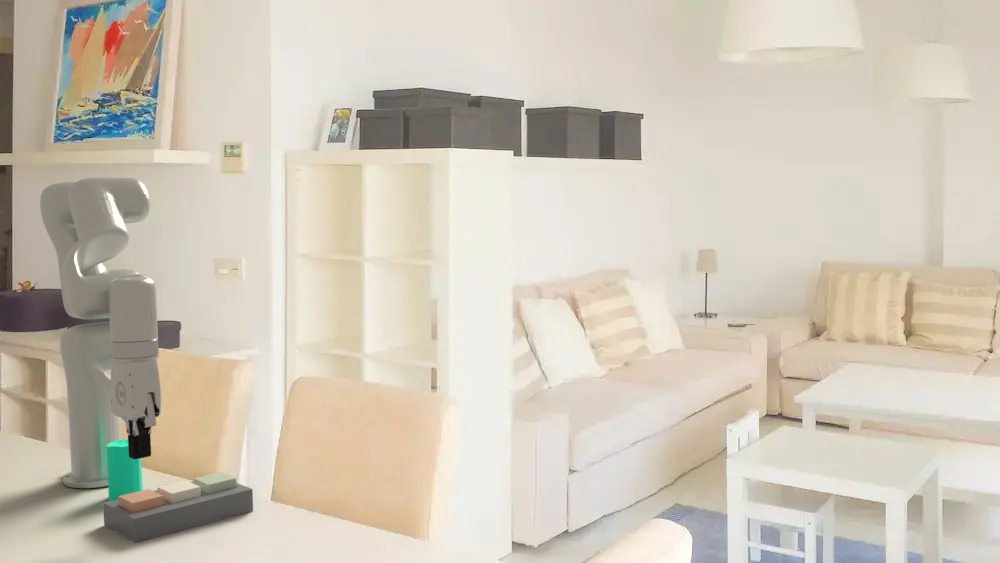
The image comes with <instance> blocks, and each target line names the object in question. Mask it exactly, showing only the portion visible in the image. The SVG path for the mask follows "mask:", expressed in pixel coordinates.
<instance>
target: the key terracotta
mask: <svg viewBox="0 0 1000 563" xmlns="http://www.w3.org/2000/svg"><path fill="white" fill-rule="evenodd" d="M154 491H155V490H152V489H149V488H148V489H144V490H143V489H142V491H139V492H134V493H130V494H126V495H122V496H119V507H121V508H123V509H125V510H127V511H129V512H131V513H135V512H139V511H143V510H147V509H151V508H155V507H159V506H163V505H164V504H163V495H160V494H158V493H156V492H154Z"/></svg>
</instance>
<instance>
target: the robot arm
mask: <svg viewBox="0 0 1000 563" xmlns="http://www.w3.org/2000/svg"><path fill="white" fill-rule="evenodd" d="M39 205H40V206H39V207H40V213H41V218H42V222H43V223H42V224H43V225H44V228H45V231H46V233H47V235H48V236H49V238H50V241H51V242H52V245H53V247H54V250H55V252H56V257H57V264H58V265H57V266H58V273H59V281H60V289H61V291H60V292H61V296H62V297H61V298H62V303H63V307H64V310H65V312H66V313H67V315H68V316H69V317H71V318H76V319H80V320H86V321H87V320H100V319H102V320H103V319H109V321H106V322H105V321H104V322H93V323H91V322H90V323H84V324H83V323H82V324H79V325H78V324H77V325H75V326H74V325H73V326H71V327H69V328H67V329H66V330H65V331H64V332H63V333H62V335H61V336H60V341H59V348H60V355H61V360H62V365H63V368H64V375H65V382H66V383H65V384H66V393H67V408H68V409H67V410H68V425H69V426H68V427H69V428H68V429H69V449H70V452H69V453H70V469H71V471H70V472H68V473H66V474H65V475H64V476H63V478H62V481H63V485H64V486H66V487H69V488H74V489H97V488H103V487H104V488H105V487H108V470H107V448H106V446H107V445H108V444H109V443H111V442H114V441H118V440H122V428H121V427H122V422H121V420H123V421H124V422H125V429H126V433H127V440H128V448H129V457H130V458H132V459H140V458H141V459H144V458H149V457H151V456H152V444H151V434H152V427H155V426H157V420H156V418H157V417H159V416H160V415H161V413H162V391H161V390H162V389H161V388H162V387H161V380H160V372H159V371H160V370H159V365H158V360H157V359H158V358H159V357H160V356H159V355H160V354H159V353H160V352H159V334H158V333H159V332H158V313H157V312H158V310H157V309H158V308H157V307H158V306H157V289H156V283H155V281H154V280H153V279H152V278H150V277H148V276H146V275H145V274H141V273H140V272H138V271H136V270H134V269H126V268H125V269H123V268H122V269H107V268H106V265H105V262H107V261H109V260H111V259H113V258H115V257H117V256H118V255H120V254H121V253H122V252H123V251H124V250H125V249H126V248H127V246H128V244H129V241H130V240H129V238H130V237H129V236H130V235H129V232H128V229H127V227H126V224H133V223H134V224H135V223H140V222H143V221H144V220H146V218H147V217H148V216H149V214H150V213H149V212H150V208H151V199H150V195H149V192H148V189H147V187H146V186H145V184H144V183H143V182H142V181H140V179H137V178H135V177H133V178H132V177H88V178H82V179H79V180H77V181H65V182H57V183H53V184H50V185H48V186H46V187H45V188H44V189H42V191H41V193H40V196H39ZM106 371H110V378H109V377H108V376H107V375H106V374H105V372H106Z"/></svg>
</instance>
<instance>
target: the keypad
mask: <svg viewBox="0 0 1000 563" xmlns="http://www.w3.org/2000/svg"><path fill="white" fill-rule="evenodd" d="M190 482H191V483H193V484H194V481H190ZM153 491H154V492H156V493H158V489H156V490H153ZM253 495H254V494H253V488H251V487H249V486H245V485H243V484H241V483H238V482H236V488H232V489H228V490H224V491H220V492H216V493H212V494H207V493H205V492H202V491H201V496H200V497H196V498H192V499H188V500H184V501H180V502H175V503H169V502H167V501H165V500H163V504H164V505H163V506H159V507H155V508H151V509H147V510H143V511H139V512H135V513H131V512H129V511H127V510H125V509H123V508H121V507H119V499H117V500H113V501H110V500H109V501H105V502H103V503H102V504H103V505H102V506H103V524H104V525H103V526H104V527H107V528H108V529H110V530H112V531H114V532H116V533H118V534H120V535H121V536H123V537H125V538H126V539H129V540H130V541H132V542H133V543H139V542H142V541H147V540H150V539H153V538H158V537H161V536H163V535H168V534H171V533H174V532H175V533H176V532H179V531H182V530H187V529H190V528H194V527H198V526H201V525H205V524H209V523H212V522H216V521H219V520H224V519H227V518H231V517H235V516H237V515H241V514H245V513H249V512H252V511H254V503H253V502H254V500H253V499H254V497H253Z"/></svg>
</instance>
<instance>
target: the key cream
mask: <svg viewBox="0 0 1000 563" xmlns="http://www.w3.org/2000/svg"><path fill="white" fill-rule="evenodd" d="M191 482H192V481H188V480H183V481H179V482H178V481H177V482H174V483H169V484H164V485H161V486H157V489H156V490H158V494H160V495H163V500H165V501H167V502H169V503H175V502H180V501H184V500H188V499H192V498H196V497H200V496H201V487H200V486H198V485H195V484H193V483H191Z"/></svg>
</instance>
